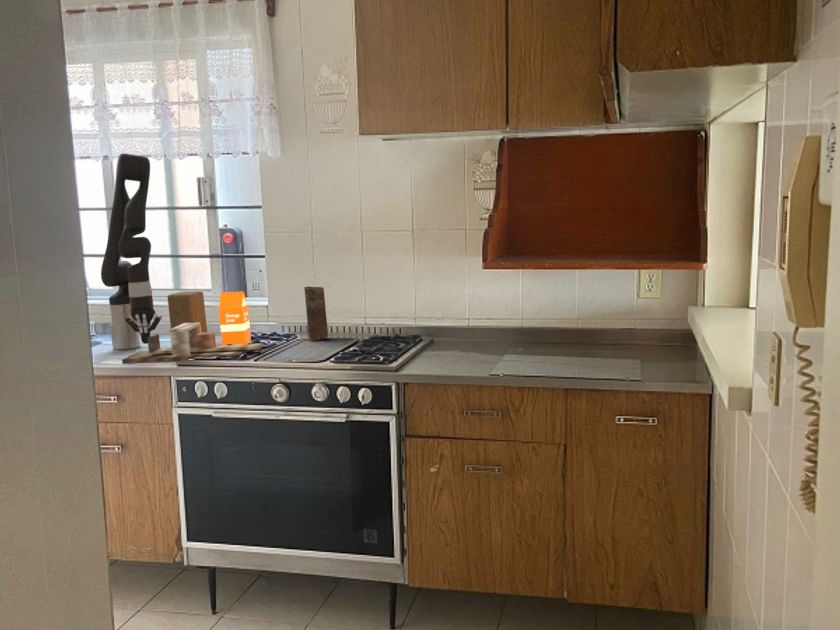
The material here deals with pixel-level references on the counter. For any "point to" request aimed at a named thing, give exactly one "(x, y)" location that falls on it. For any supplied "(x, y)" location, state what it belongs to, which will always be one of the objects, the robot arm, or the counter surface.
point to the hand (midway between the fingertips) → (146, 343)
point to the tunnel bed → (180, 347)
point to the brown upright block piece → (316, 313)
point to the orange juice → (234, 318)
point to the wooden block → (187, 309)
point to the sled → (199, 344)
